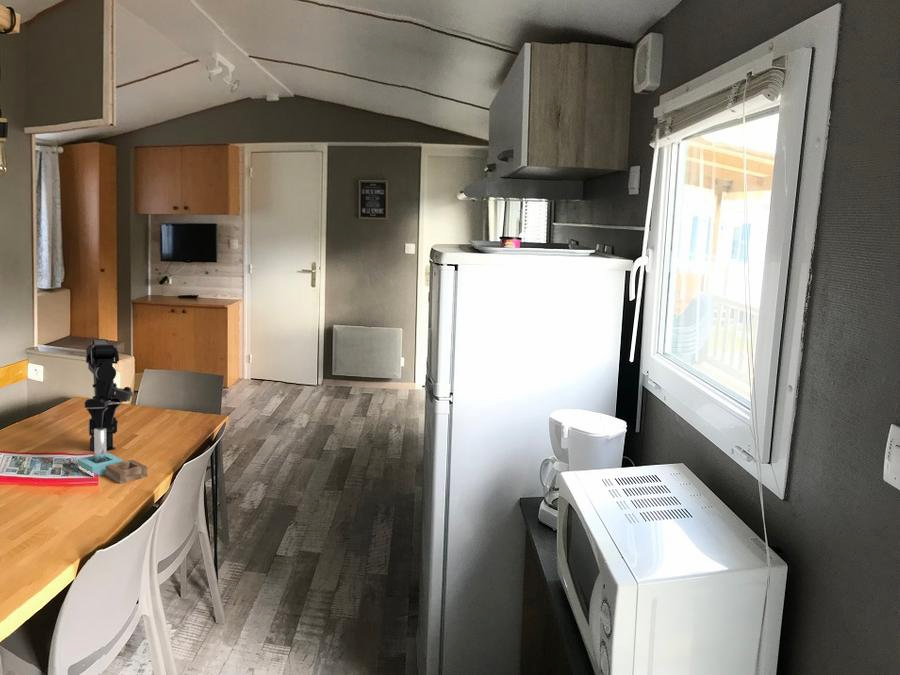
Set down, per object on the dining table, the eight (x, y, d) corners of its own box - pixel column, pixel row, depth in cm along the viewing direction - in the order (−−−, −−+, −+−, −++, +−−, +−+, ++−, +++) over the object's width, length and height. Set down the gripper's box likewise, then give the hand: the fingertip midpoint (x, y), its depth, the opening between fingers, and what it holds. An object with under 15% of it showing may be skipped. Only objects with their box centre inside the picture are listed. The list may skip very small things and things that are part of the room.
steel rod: (105, 466, 222) (105, 427, 220) (107, 470, 219) (107, 430, 217) (93, 468, 220) (92, 428, 217) (95, 472, 217) (95, 431, 215)
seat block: (107, 462, 226) (107, 452, 226) (123, 469, 220) (123, 459, 220) (77, 469, 218) (77, 459, 218) (92, 477, 212) (92, 467, 212)
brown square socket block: (132, 469, 222) (132, 459, 221) (147, 476, 216) (147, 466, 216) (105, 476, 214) (105, 465, 214) (120, 483, 209) (120, 473, 209)
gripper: (119, 381, 216) (120, 429, 216) (138, 378, 235) (138, 422, 235) (83, 382, 215) (84, 430, 215) (104, 379, 233) (105, 423, 233)
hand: (105, 426), depth 224 cm, fingers open, 9 cm apart
